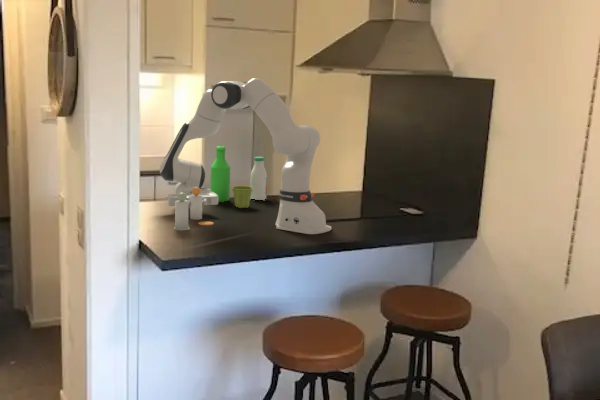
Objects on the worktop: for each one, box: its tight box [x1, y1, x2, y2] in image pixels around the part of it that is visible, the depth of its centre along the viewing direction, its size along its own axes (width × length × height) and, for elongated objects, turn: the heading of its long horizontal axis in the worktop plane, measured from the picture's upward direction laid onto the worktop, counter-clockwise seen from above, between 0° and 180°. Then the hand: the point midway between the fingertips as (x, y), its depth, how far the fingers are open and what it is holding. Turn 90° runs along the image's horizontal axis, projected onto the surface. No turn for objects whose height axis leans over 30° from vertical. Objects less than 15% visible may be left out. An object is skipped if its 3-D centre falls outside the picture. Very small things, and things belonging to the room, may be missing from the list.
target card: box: [173, 221, 214, 231], centre depth 241 cm, size 10×20×1 cm, turn 141°
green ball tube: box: [174, 192, 189, 231], centre depth 235 cm, size 5×5×13 cm
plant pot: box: [231, 185, 253, 209], centre depth 283 cm, size 9×9×9 cm
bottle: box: [209, 145, 231, 203], centre depth 292 cm, size 9×9×25 cm
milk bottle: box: [249, 156, 268, 201], centre depth 299 cm, size 8×8×20 cm
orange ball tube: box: [189, 187, 203, 221], centre depth 252 cm, size 5×5×13 cm
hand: (196, 203), depth 252 cm, fingers closed on orange ball tube, 5 cm apart
